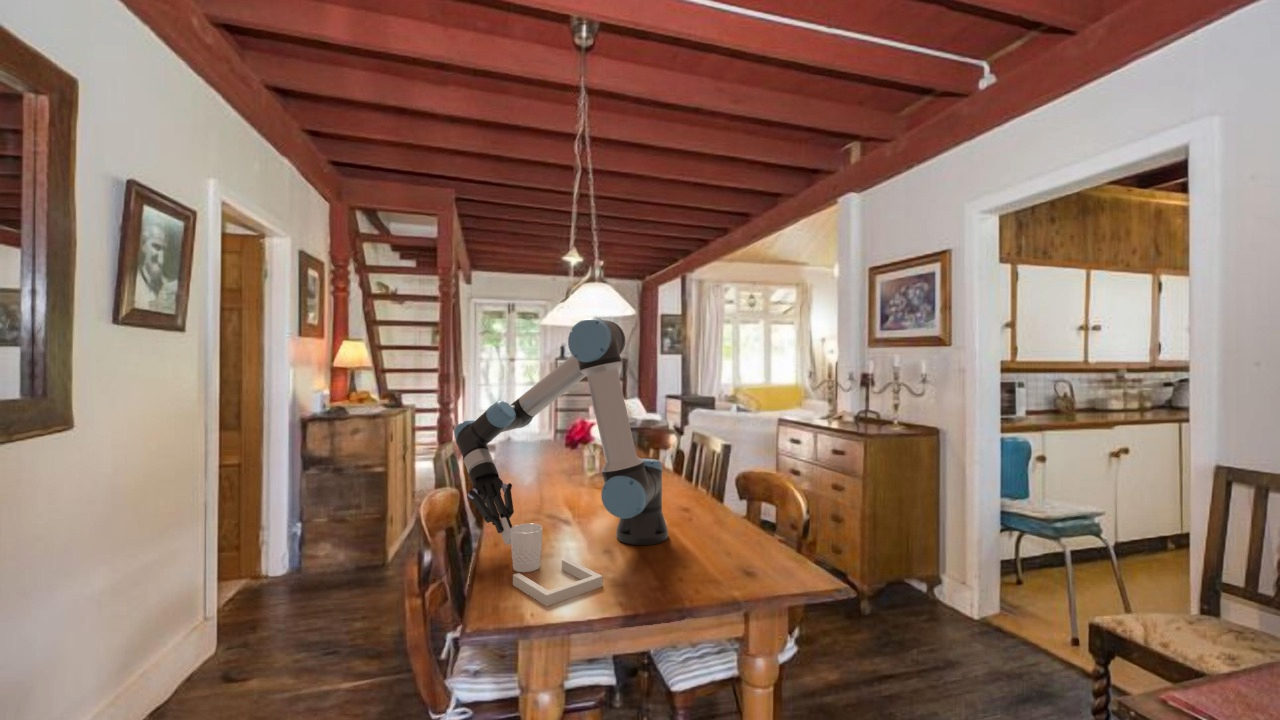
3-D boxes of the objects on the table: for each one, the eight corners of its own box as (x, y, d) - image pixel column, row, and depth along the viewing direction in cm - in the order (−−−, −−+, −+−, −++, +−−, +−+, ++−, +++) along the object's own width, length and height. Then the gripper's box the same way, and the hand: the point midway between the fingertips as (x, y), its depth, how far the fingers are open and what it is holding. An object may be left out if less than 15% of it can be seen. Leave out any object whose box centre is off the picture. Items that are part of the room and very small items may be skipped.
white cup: (527, 576, 132) (527, 535, 132) (503, 569, 137) (503, 529, 136) (548, 565, 139) (548, 526, 139) (526, 559, 143) (526, 521, 143)
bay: (512, 584, 127) (512, 574, 127) (567, 567, 137) (567, 558, 137) (546, 606, 116) (546, 595, 116) (602, 586, 126) (602, 576, 126)
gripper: (498, 473, 162) (526, 543, 150) (455, 479, 153) (482, 555, 141) (506, 457, 158) (536, 528, 146) (463, 463, 149) (491, 540, 137)
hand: (509, 541), depth 143 cm, fingers closed
